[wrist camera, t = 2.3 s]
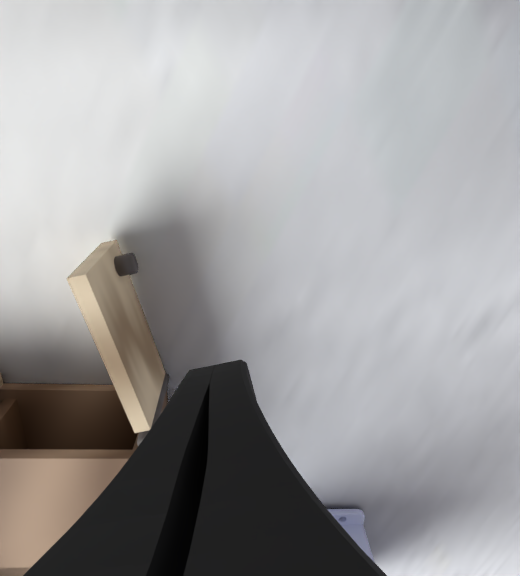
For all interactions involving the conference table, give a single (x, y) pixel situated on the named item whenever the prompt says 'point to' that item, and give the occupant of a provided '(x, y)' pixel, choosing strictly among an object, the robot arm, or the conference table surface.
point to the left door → (121, 332)
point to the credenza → (55, 462)
